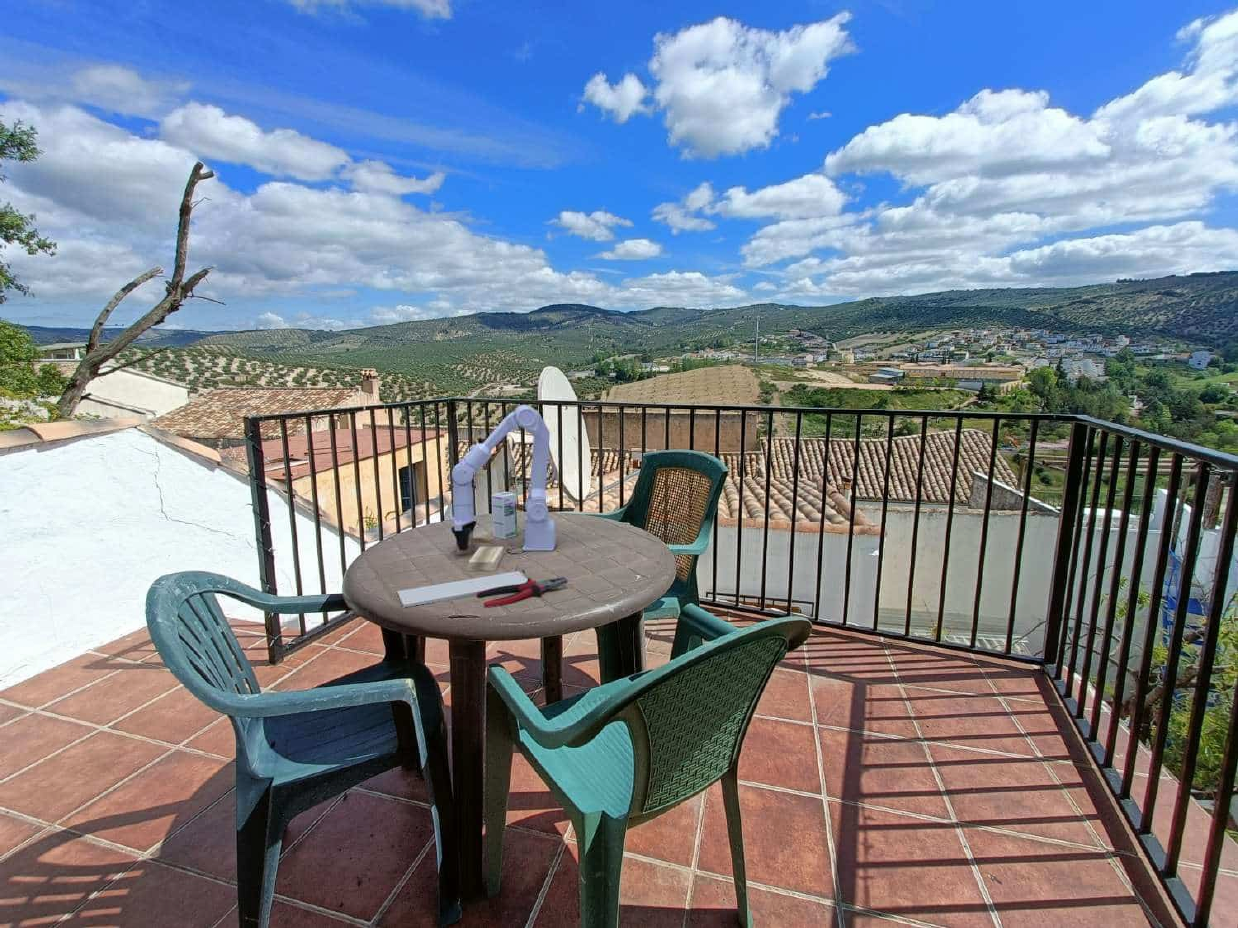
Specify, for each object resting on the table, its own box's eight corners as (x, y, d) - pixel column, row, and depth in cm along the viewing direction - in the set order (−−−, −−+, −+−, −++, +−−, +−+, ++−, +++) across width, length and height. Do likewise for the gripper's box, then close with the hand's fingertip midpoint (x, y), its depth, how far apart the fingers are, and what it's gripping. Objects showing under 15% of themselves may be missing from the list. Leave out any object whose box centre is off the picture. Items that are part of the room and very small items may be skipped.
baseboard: (396, 593, 142) (403, 611, 132) (395, 582, 142) (403, 599, 131) (515, 573, 157) (531, 587, 146) (515, 562, 156) (530, 576, 146)
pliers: (485, 601, 132) (572, 579, 142) (475, 588, 139) (559, 568, 149) (486, 613, 132) (573, 591, 142) (476, 599, 140) (559, 579, 150)
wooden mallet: (496, 550, 175) (495, 531, 174) (493, 554, 171) (493, 534, 170) (460, 550, 175) (459, 531, 174) (456, 554, 171) (456, 534, 170)
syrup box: (504, 539, 186) (503, 496, 183) (492, 536, 189) (491, 493, 187) (517, 535, 190) (516, 493, 188) (505, 532, 194) (504, 490, 191)
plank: (503, 554, 171) (503, 546, 170) (494, 570, 157) (494, 561, 156) (480, 554, 170) (479, 546, 170) (468, 570, 157) (468, 561, 156)
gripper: (456, 498, 177) (457, 540, 180) (443, 509, 163) (445, 555, 165) (479, 498, 178) (480, 540, 180) (467, 509, 163) (469, 555, 165)
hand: (465, 547), depth 173 cm, fingers closed on wooden mallet, 4 cm apart
